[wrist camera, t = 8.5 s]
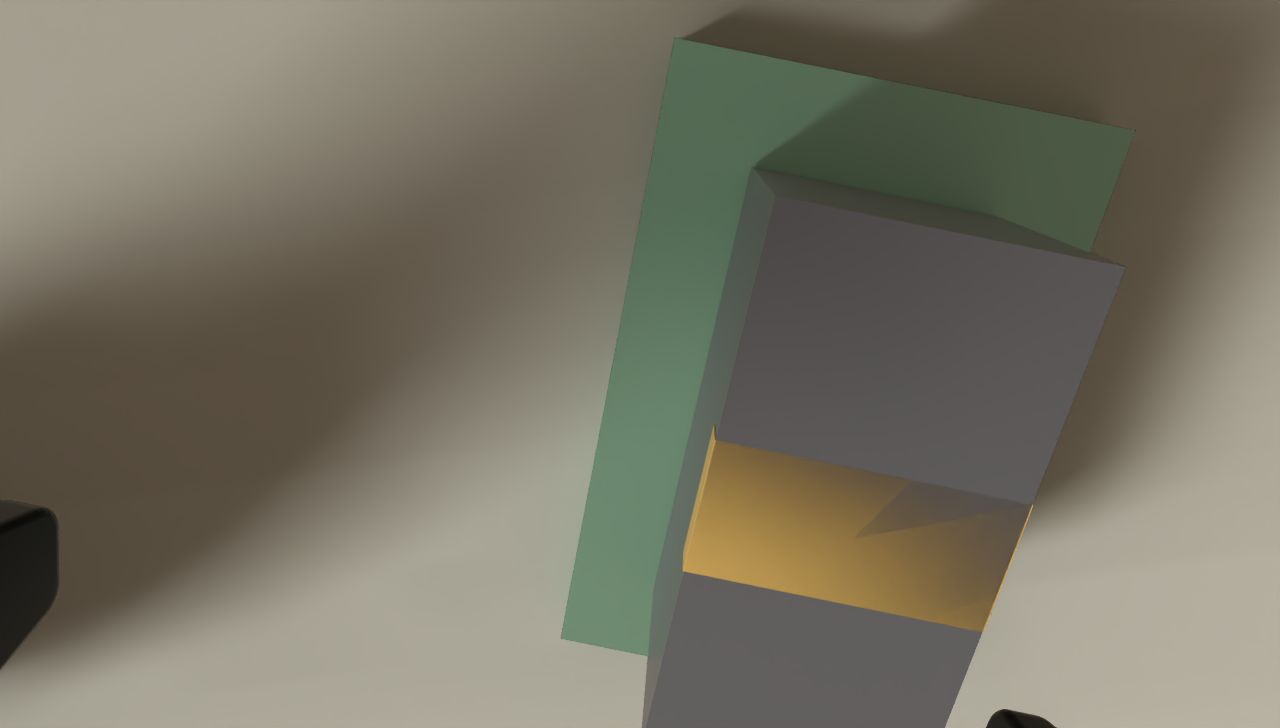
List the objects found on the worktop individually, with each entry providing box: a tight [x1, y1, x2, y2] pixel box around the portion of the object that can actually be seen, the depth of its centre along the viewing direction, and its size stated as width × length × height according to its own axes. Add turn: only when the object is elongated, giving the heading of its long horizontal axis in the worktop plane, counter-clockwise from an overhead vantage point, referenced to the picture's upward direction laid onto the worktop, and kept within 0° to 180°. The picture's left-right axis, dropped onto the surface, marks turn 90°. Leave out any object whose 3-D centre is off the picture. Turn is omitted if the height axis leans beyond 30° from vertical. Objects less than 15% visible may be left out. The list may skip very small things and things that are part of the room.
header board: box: [561, 38, 1136, 656], centre depth 17 cm, size 9×14×4 cm, turn 169°
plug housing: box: [642, 167, 1126, 728], centre depth 15 cm, size 5×10×5 cm, turn 169°
